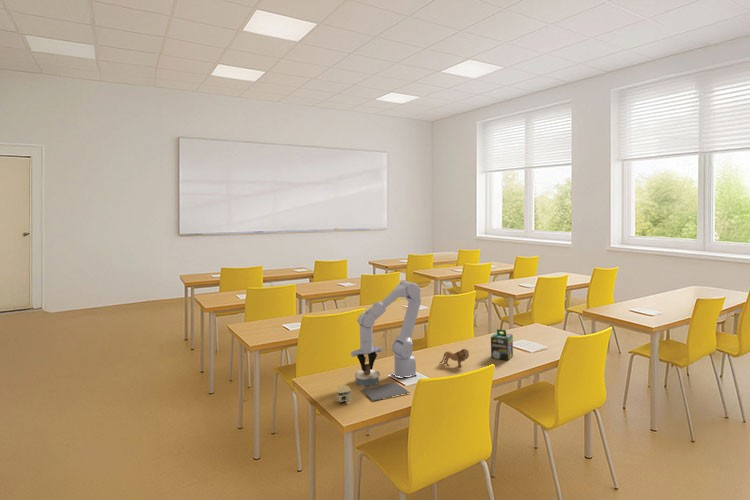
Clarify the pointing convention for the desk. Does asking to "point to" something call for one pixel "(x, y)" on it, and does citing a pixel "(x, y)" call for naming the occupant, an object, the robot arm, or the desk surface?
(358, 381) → the bowl
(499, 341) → the chalk box
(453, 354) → the lion figurine
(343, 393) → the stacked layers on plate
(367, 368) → the lid
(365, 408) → the desk surface
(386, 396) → the mat
